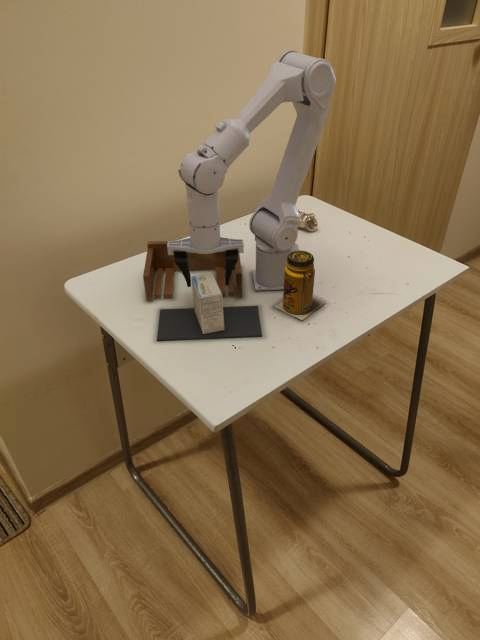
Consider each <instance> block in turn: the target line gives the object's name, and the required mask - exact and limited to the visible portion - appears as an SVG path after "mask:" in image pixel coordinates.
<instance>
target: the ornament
mask: <svg viewBox="0 0 480 640" xmlns="http://www.w3.org/2000/svg"><path fill="white" fill-rule="evenodd" d="M297 211H298V214H299V217H300V222H299V225H298V228H303V229H305V230H306V231H309V232H314V231H316V230H317V228H318V225H319V224H318V220H317V217H316V213H314V212H310V213H308V212H307V213H306V212H304V211H302V210H300V209H297ZM309 224H310V225H309ZM308 225H309V226H308Z"/></svg>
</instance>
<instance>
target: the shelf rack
mask: <svg viewBox="0 0 480 640" xmlns="http://www.w3.org/2000/svg"><path fill="white" fill-rule="evenodd" d="M168 241H169V240H161V241H160V240H153V241H149V240H148V241H147V242H146V246H147V250H146V257H145V262H144V263H145V264H144V268H143V273H142V274H143V275H142V278H143V284H144V285H143V286H144V292H145V296H146V301H147V302H152V301H154V299H157V300H158V299H159V300H160V299H161V297H162V289H163V299H173V298H174V297H173V296H174V286H175V285H174V283H175V273H176V272H181V270H180V269H179V267H178V266H177V265H176V263H175V261H174V255H168V249H167V243H168ZM188 262H189V270H190V272H191V271H215V279H216V281H217V284H218V286H219V288H220V290H221V293H222V297H226V284H225V266H226V263H225V252H216V253H211V254H199V253H188ZM164 272H165V277H164ZM163 278H164V280H163ZM163 281H164V286H163ZM227 289H228V290H227V291H228V297H234V296H235V295H236V297H235V298H237V299H238V298H243V271H242V263H241V253H238V261H237V263H236V265H235V267H234V269H233V271H232V273H231V277H230V281H229V286H227Z"/></svg>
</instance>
